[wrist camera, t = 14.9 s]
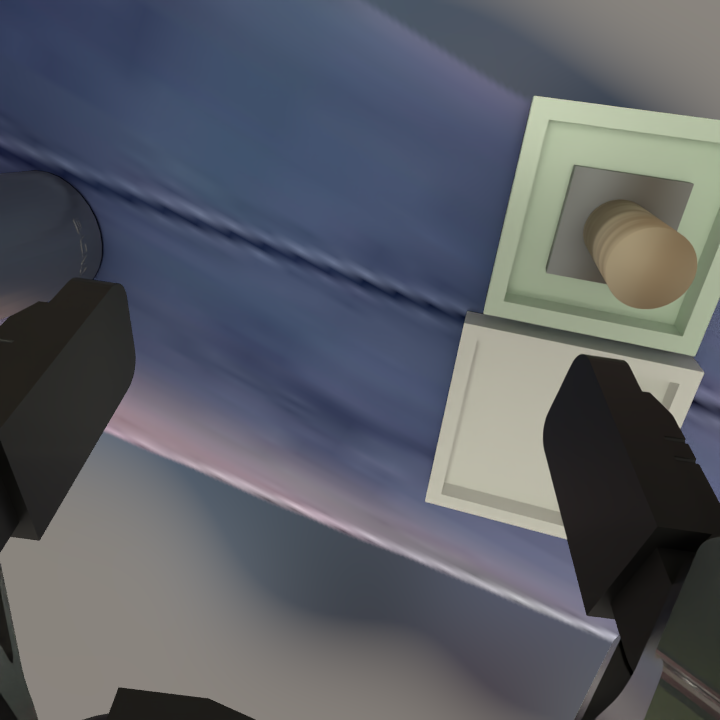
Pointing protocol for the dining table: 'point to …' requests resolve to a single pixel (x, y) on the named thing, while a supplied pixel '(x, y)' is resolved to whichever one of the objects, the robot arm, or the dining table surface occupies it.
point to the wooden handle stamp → (625, 236)
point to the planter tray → (544, 204)
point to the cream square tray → (526, 414)
